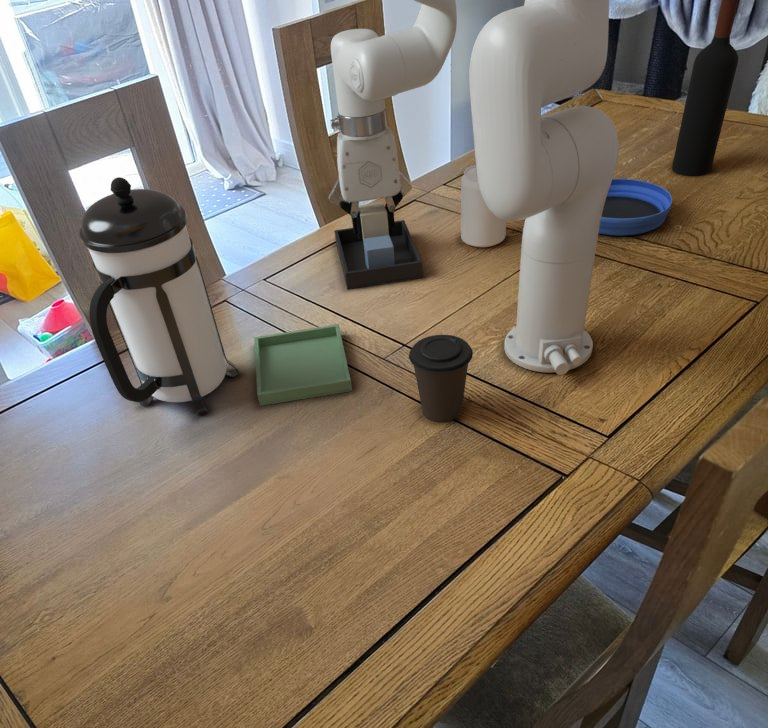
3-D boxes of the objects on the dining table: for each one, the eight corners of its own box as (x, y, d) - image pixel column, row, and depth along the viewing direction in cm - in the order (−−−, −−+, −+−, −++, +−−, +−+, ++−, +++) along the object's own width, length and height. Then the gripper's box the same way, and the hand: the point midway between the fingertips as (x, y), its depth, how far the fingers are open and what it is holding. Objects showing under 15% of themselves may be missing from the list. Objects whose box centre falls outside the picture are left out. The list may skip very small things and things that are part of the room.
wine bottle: (671, 175, 140) (709, -7, 119) (672, 161, 145) (709, -17, 124) (711, 176, 138) (758, -9, 117) (710, 162, 143) (755, -18, 122)
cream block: (389, 237, 123) (387, 211, 120) (363, 241, 123) (360, 215, 120) (385, 227, 126) (382, 201, 123) (360, 231, 126) (357, 205, 123)
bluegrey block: (395, 271, 121) (393, 246, 118) (369, 275, 121) (366, 250, 117) (391, 259, 124) (389, 234, 121) (365, 263, 124) (363, 238, 121)
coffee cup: (477, 394, 96) (478, 331, 89) (466, 432, 90) (466, 367, 83) (420, 388, 98) (416, 326, 91) (405, 425, 92) (401, 361, 85)
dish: (352, 391, 99) (350, 380, 97) (260, 406, 98) (257, 395, 97) (340, 334, 109) (338, 323, 108) (256, 347, 108) (254, 337, 107)
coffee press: (126, 377, 106) (40, 172, 84) (229, 350, 109) (171, 145, 87) (140, 445, 94) (44, 227, 72) (254, 412, 97) (195, 193, 75)
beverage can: (504, 229, 130) (508, 161, 121) (505, 249, 124) (509, 179, 116) (461, 230, 131) (461, 163, 122) (460, 250, 125) (460, 182, 117)
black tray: (422, 277, 120) (422, 261, 117) (347, 289, 119) (345, 273, 117) (405, 235, 131) (404, 219, 129) (336, 245, 131) (334, 230, 129)
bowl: (680, 235, 123) (685, 215, 120) (577, 242, 124) (579, 222, 121) (655, 193, 135) (658, 174, 133) (561, 200, 136) (563, 181, 134)
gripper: (313, 138, 109) (330, 250, 122) (419, 122, 109) (424, 235, 122) (309, 123, 114) (326, 233, 127) (410, 108, 115) (416, 218, 128)
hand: (374, 233), depth 125 cm, fingers closed on cream block, 4 cm apart
